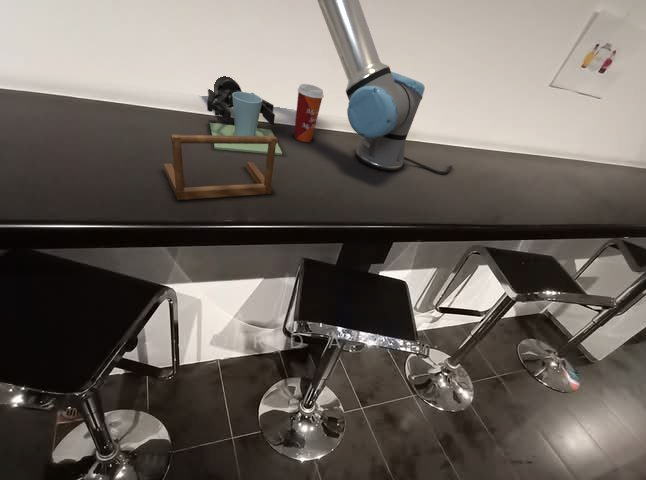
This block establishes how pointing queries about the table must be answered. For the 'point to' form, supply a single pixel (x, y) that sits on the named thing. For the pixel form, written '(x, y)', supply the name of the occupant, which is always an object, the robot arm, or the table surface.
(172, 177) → the rack
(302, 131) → the paper cup
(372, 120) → the robot arm
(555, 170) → the table surface
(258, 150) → the mat
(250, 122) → the cup
